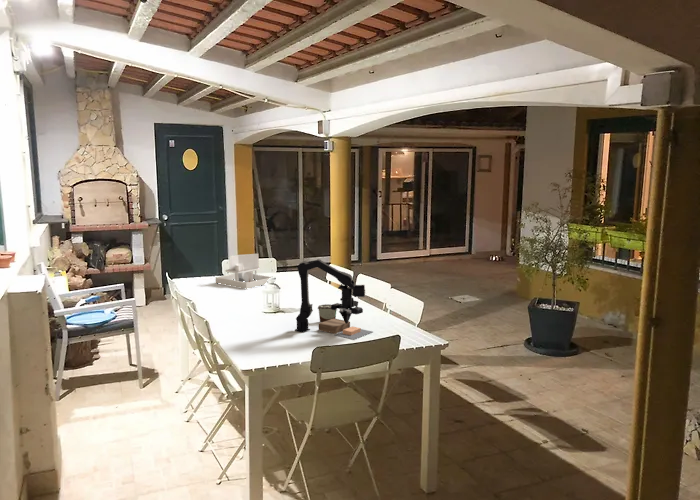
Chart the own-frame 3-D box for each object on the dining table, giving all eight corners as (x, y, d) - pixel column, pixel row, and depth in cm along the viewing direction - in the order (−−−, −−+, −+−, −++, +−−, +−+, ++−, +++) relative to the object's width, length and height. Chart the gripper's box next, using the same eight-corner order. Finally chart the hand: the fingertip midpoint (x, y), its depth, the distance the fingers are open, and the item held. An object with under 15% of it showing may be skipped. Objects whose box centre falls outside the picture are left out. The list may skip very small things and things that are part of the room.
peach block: (342, 330, 312) (342, 333, 312) (351, 331, 309) (351, 335, 309) (352, 326, 319) (352, 329, 320) (360, 328, 316) (360, 331, 316)
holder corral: (246, 289, 427) (246, 283, 426) (215, 283, 448) (215, 277, 447) (273, 283, 449) (273, 277, 449) (242, 278, 471) (242, 272, 470)
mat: (354, 339, 302) (354, 339, 302) (334, 335, 310) (334, 334, 310) (373, 332, 316) (373, 331, 316) (353, 327, 324) (353, 327, 324)
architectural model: (239, 288, 432) (239, 258, 428) (222, 285, 444) (221, 256, 441) (266, 282, 453) (266, 254, 450) (249, 279, 466) (248, 252, 463)
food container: (340, 321, 339) (340, 305, 338) (336, 323, 333) (336, 307, 332) (321, 319, 343) (321, 303, 341) (317, 322, 337) (317, 305, 335)
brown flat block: (335, 334, 312) (335, 327, 312) (318, 330, 320) (318, 323, 319) (350, 328, 323) (350, 321, 323) (333, 324, 331) (333, 318, 330)
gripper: (368, 296, 314) (368, 323, 316) (342, 291, 325) (342, 317, 327) (356, 299, 305) (356, 327, 307) (330, 295, 316) (330, 321, 319)
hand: (346, 323), depth 315 cm, fingers closed
